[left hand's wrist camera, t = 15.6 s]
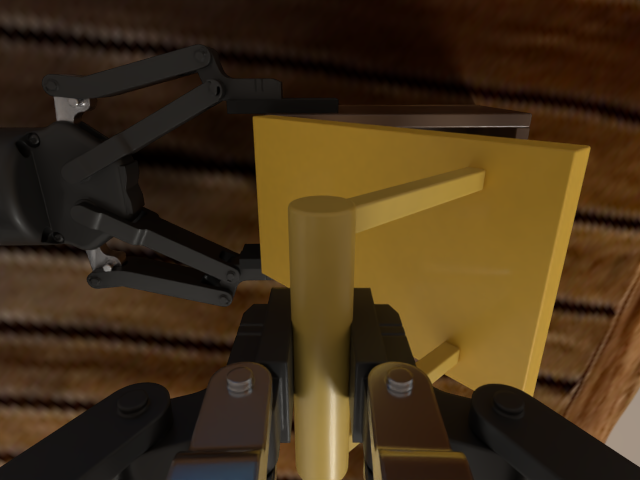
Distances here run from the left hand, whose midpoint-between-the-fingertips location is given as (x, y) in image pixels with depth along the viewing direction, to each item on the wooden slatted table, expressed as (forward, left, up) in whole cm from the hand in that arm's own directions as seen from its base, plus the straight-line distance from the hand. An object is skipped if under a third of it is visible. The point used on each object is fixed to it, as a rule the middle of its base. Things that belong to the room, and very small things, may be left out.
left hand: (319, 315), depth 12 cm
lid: (+1, -3, -7) cm, 8 cm away
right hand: (0, -1, -16) cm, 16 cm away
